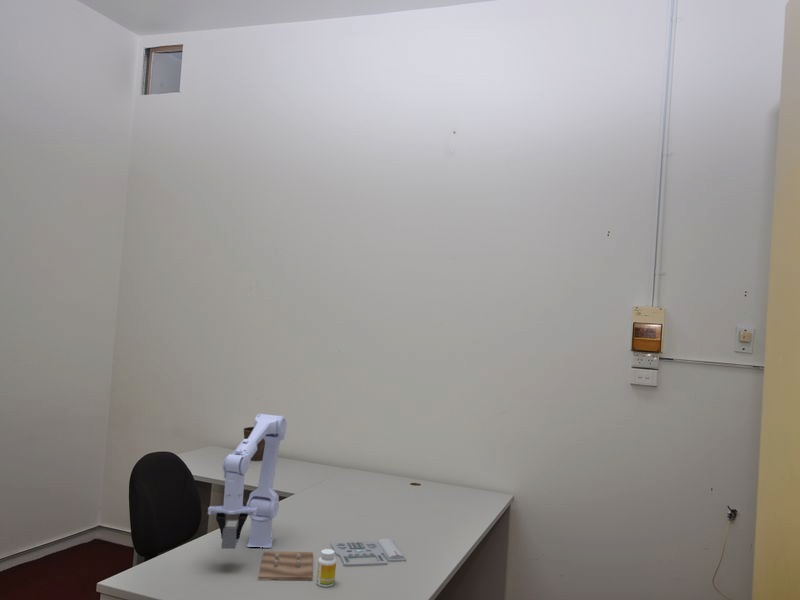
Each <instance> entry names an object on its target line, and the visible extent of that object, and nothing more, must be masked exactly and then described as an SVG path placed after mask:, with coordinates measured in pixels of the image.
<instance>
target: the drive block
mask: <svg viewBox="0 0 800 600" xmlns="http://www.w3.org/2000/svg"><path fill="white" fill-rule="evenodd" d="M237 532H238V519H226V521H225V525H224V527H223V536H222V539H221V549H227V550H229V549H231V550H234V549H235V550H236V547H237V545H238V542H239V539H237Z"/></svg>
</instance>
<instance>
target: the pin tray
mask: <svg viewBox="0 0 800 600" xmlns="http://www.w3.org/2000/svg"><path fill="white" fill-rule="evenodd" d="M313 558H314V552H313V551H281V550H279V551H276V550H272V551H271V550H264V551H263V554H262V558H261V564H260V566H259V573H258V576H257V580H258V579H280V580H279V581H307V580H308V581H311V582H312V581H313V573H314V572H313V570H314V569H313V566H314V565H313V563H314V559H313ZM281 579H282V580H281Z"/></svg>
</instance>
